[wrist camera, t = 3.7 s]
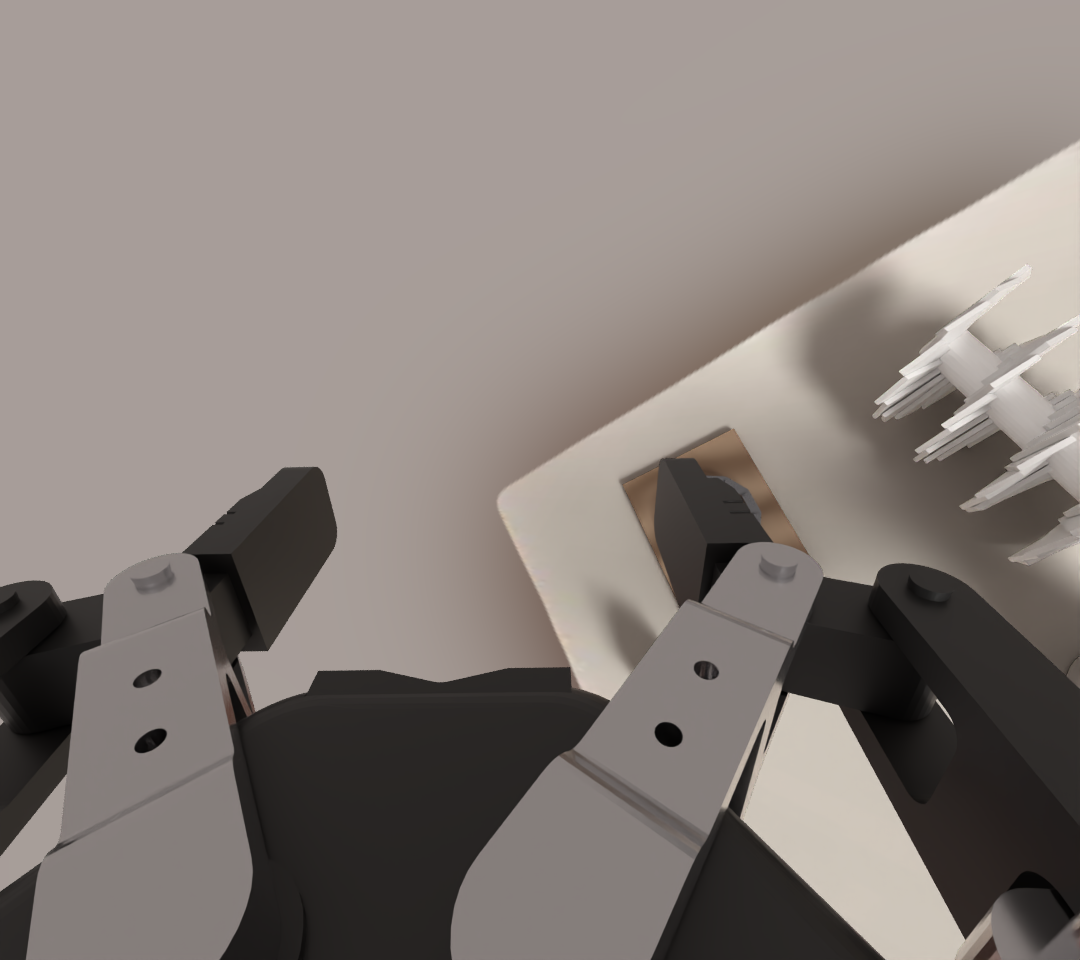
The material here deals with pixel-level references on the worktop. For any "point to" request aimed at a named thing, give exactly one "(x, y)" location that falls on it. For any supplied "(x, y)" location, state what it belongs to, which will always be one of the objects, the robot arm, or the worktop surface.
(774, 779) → the worktop surface
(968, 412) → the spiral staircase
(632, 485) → the walnut board
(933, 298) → the worktop surface
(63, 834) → the robot arm
